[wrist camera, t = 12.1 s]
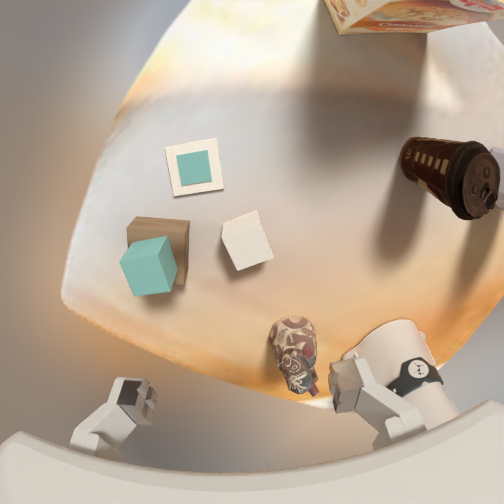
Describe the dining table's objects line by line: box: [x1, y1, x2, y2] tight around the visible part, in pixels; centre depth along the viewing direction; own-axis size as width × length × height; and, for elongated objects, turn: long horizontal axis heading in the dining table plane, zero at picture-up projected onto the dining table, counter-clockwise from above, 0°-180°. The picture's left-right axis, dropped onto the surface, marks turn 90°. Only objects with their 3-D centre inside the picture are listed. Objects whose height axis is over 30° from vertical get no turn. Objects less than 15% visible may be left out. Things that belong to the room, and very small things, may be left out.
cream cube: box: [222, 210, 274, 271], centre depth 33 cm, size 4×4×4 cm
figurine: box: [269, 316, 319, 397], centre depth 38 cm, size 7×7×12 cm
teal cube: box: [120, 236, 178, 296], centre depth 29 cm, size 4×4×4 cm
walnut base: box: [127, 217, 190, 285], centre depth 33 cm, size 7×7×4 cm
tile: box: [165, 138, 224, 196], centre depth 30 cm, size 6×6×1 cm
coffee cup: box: [400, 137, 501, 220], centre depth 25 cm, size 9×8×13 cm
